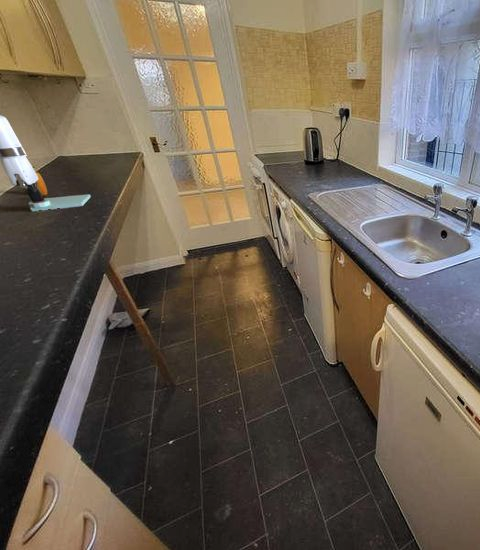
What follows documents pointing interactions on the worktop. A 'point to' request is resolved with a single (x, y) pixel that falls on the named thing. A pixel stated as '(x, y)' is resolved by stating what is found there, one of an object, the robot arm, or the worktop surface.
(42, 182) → the carrot
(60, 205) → the scale
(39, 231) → the worktop surface
